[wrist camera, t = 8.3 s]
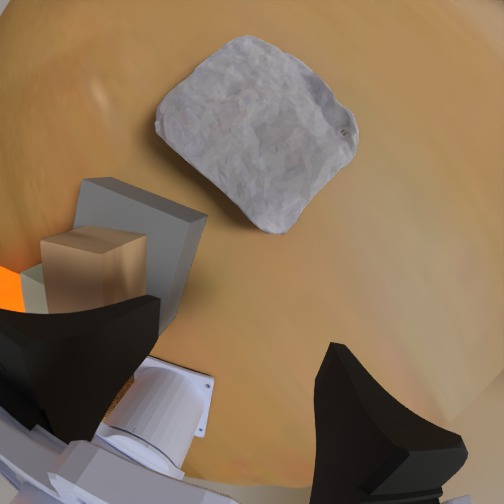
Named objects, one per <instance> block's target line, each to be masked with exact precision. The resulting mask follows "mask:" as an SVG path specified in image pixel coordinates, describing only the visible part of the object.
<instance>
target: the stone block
mask: <svg viewBox="0 0 504 504" xmlns="http://www.w3.org/2000/svg"><path fill="white" fill-rule="evenodd" d="M154 124H155V131H156V133H157V134H158V135H159V136H160V137H161V138H162V139H163V140H164V141H165V142H166V143H167V144H168V145H169V146H170V147H171V148H172V149H173V150H174V151H176V152H177V153H178V154H179V155H180V156H181V157H183V158H184V159H185V160H186V161H187V162H188V163H189V164H190V165H191V166H193V167H194V168H195V169H196V170H197V171H199V172H200V173H201V174H202V175H204V176H205V177H206V178H207V179H209V180H210V181H211V182H212V183H214V184H215V185H216V186H217V187H218V188H219V189H220V190H221V191H223V192H224V193H225V194H226V195H227V196H228V197H229V198H230V199H231V200H232V201H233V202H234V203H235V204H236V205H237V206H238V207H239V208H240V209H241V211H242V212H243V213H244V214H245V215H246V217H247V218H248V219H249V220H250V221H252V222H253V223H254V224H255V225H256V226H257V227H258V228H259V229H260V230H262V231H264V232H266V233H269V234H285V233H286V232H287V231H288V230H289V229H290V228H291V227H292V226H293V225H294V224H295V223H296V221H297V220H298V219H299V217H300V214H301V212H302V210H303V209H304V208H305V207H306V206H307V205H308V203H309V202H310V200H311V199H312V198H313V197H314V196H315V195H316V193H317V192H318V191H319V190H320V189H321V188H322V187H323V186H324V185H325V184H326V183H327V182H328V181H330V180H331V179H332V178H333V177H334V176H335V175H336V174H337V172H338V171H339V170H341V169H343V168H344V167H346V166H347V165H348V164H350V163H351V161H352V160H353V158H354V155H355V153H356V150H357V145H358V142H359V139H358V138H359V130H358V127H357V124H356V120H355V117H354V115H353V114H352V112H351V111H350V110H348V109H347V108H345V107H344V106H342V105H341V104H340V103H339V102H338V101H337V100H336V98H335V96H334V94H333V92H332V90H331V89H330V88H329V87H328V86H327V85H326V84H325V82H324V81H323V80H322V79H321V78H320V77H319V76H318V75H317V74H316V73H315V72H314V71H311V70H310V69H309V67H307V66H306V65H305V64H304V63H303V62H302V61H301V60H299V59H297V58H296V57H294V56H292V55H290V54H288V53H286V52H281V50H280V49H278V47H276V46H273V45H270V44H268V43H266V42H265V41H262V40H260V39H258V38H256V37H254V36H250V35H246V36H242V37H238V38H235V39H233V40H231V41H229V42H227V43H226V44H225V45H224V46H223V47H221V48H220V49H219V50H217V51H216V52H215V53H213V54H212V55H211V56H209V57H208V58H207V59H206V60H204V61H203V62H202V63H201V64H200V65H198V66H197V67H196V68H195V69H194V71H193V72H192V73H191V74H190V75H189V76H188V78H186V79H185V80H184V81H182V82H181V83H179V84H178V85H177V86H176V87H175V88H173V89H172V90H171V91H170V92H169V93H168V94H167V95H166V96H165V97H164V98H163V100H162V101H161V103H160V104H159V106H158V107H157V111H156V121H155V123H154Z"/></svg>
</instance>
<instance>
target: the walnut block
mask: <svg viewBox="0 0 504 504" xmlns="http://www.w3.org/2000/svg"><path fill="white" fill-rule="evenodd" d="M40 246H41V260H42V270H43V279H44V287H45V294H46V301H47V307H48V313H49V314H55V313H71V312H79V311H85V310H91V309H95V308H99V307H103V306H107V305H111V304H115V303H118V302H122V301H125V300H129V299H132V298H136V297H139V296H143V295H146V253H147V235H146V234H140V233H134V232H128V231H122V230H116V229H110V228H104V227H98V226H92V225H87V226H84V227H80V228H77V229H74V230H70V231H67V232H64V233H60V234H57V235H54V236H51V237H48V238H44V239H41V240H40Z"/></svg>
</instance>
